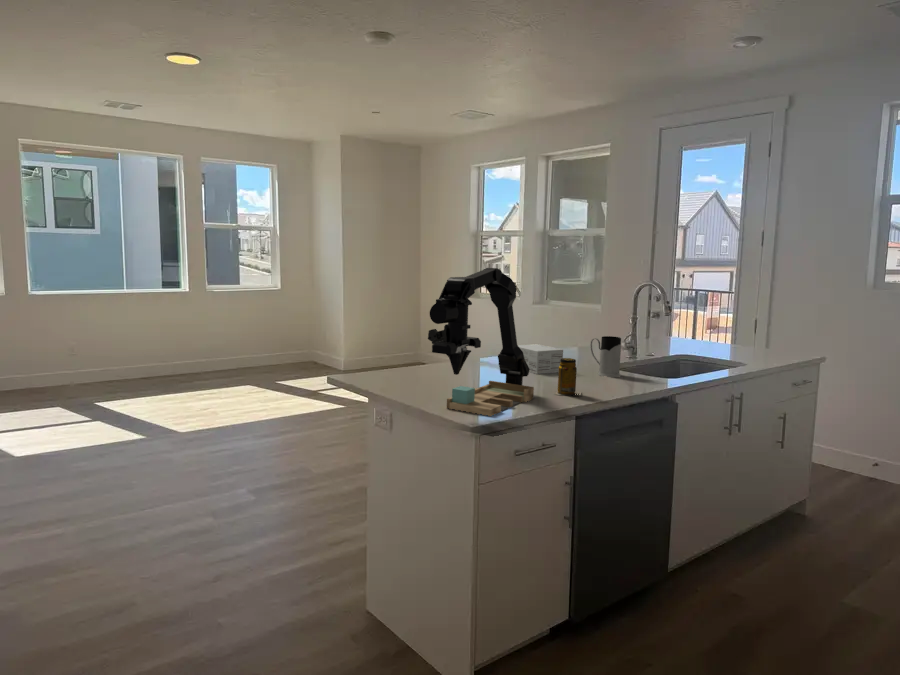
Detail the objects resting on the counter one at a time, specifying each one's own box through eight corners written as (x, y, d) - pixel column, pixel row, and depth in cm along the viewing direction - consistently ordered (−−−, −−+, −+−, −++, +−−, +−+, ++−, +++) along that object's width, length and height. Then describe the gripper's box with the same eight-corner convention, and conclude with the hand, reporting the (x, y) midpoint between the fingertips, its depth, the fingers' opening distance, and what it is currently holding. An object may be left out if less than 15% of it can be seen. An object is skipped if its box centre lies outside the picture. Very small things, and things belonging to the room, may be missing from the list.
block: (460, 398, 197) (460, 385, 197) (474, 401, 195) (474, 388, 194) (451, 401, 193) (452, 388, 193) (466, 404, 191) (466, 391, 190)
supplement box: (563, 372, 258) (564, 349, 256) (536, 374, 251) (537, 351, 250) (537, 365, 272) (538, 343, 271) (512, 367, 266) (513, 344, 264)
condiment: (557, 390, 223) (559, 356, 221) (582, 393, 220) (584, 358, 218) (554, 395, 216) (556, 360, 214) (580, 397, 213) (582, 362, 212)
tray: (489, 392, 217) (490, 380, 216) (533, 399, 208) (533, 387, 208) (446, 408, 193) (446, 395, 192) (493, 416, 185) (494, 403, 184)
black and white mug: (611, 378, 248) (613, 339, 246) (582, 371, 259) (584, 335, 257) (624, 375, 253) (627, 338, 251) (596, 369, 264) (598, 333, 262)
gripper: (450, 316, 197) (449, 366, 199) (416, 321, 181) (415, 375, 183) (482, 319, 191) (480, 371, 193) (450, 324, 175) (448, 380, 177)
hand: (456, 374), depth 187 cm, fingers closed
